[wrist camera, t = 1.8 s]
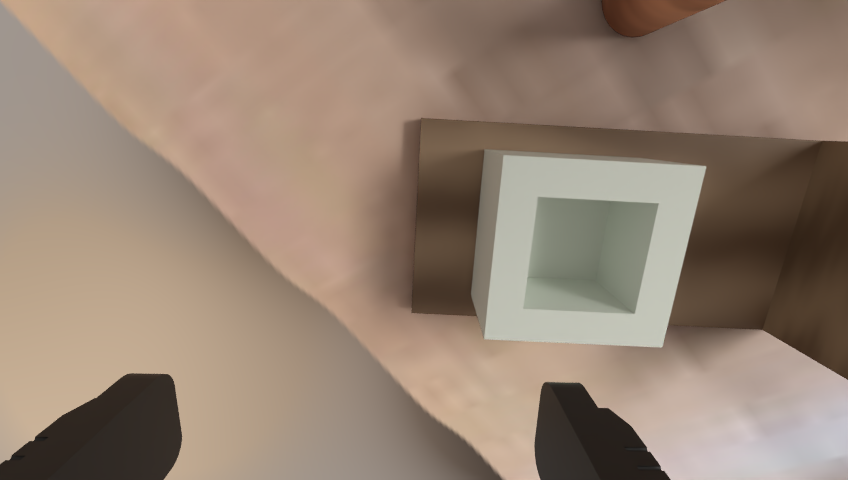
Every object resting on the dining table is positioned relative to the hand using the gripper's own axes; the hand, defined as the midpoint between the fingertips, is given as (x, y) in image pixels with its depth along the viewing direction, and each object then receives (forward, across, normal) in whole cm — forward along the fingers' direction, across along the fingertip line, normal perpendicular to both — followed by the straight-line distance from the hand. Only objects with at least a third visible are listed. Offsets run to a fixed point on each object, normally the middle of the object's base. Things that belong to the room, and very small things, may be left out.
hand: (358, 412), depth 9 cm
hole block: (+16, -9, -1) cm, 18 cm away
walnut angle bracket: (+17, -14, -1) cm, 22 cm away
